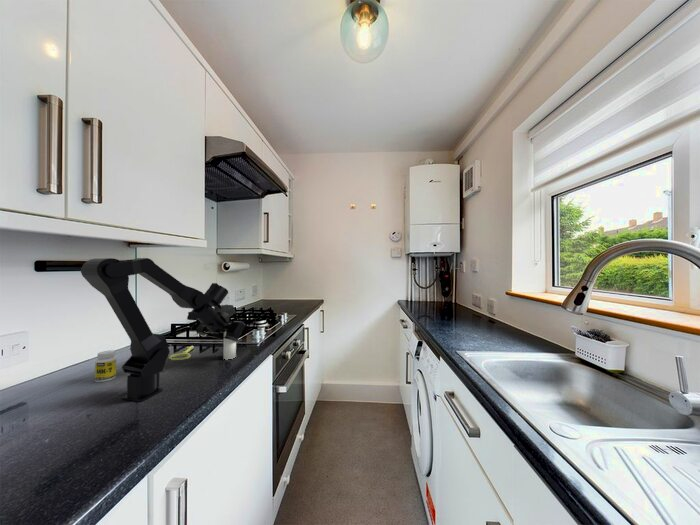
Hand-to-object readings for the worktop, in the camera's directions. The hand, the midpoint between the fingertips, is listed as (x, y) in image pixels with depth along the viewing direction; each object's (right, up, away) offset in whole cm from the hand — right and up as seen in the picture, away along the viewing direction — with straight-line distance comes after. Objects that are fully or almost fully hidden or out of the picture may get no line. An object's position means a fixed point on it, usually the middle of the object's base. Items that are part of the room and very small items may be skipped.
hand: (232, 339), depth 100 cm
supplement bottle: (-30, -6, -20) cm, 37 cm away
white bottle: (0, -7, -1) cm, 7 cm away
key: (-20, -7, +2) cm, 22 cm away
